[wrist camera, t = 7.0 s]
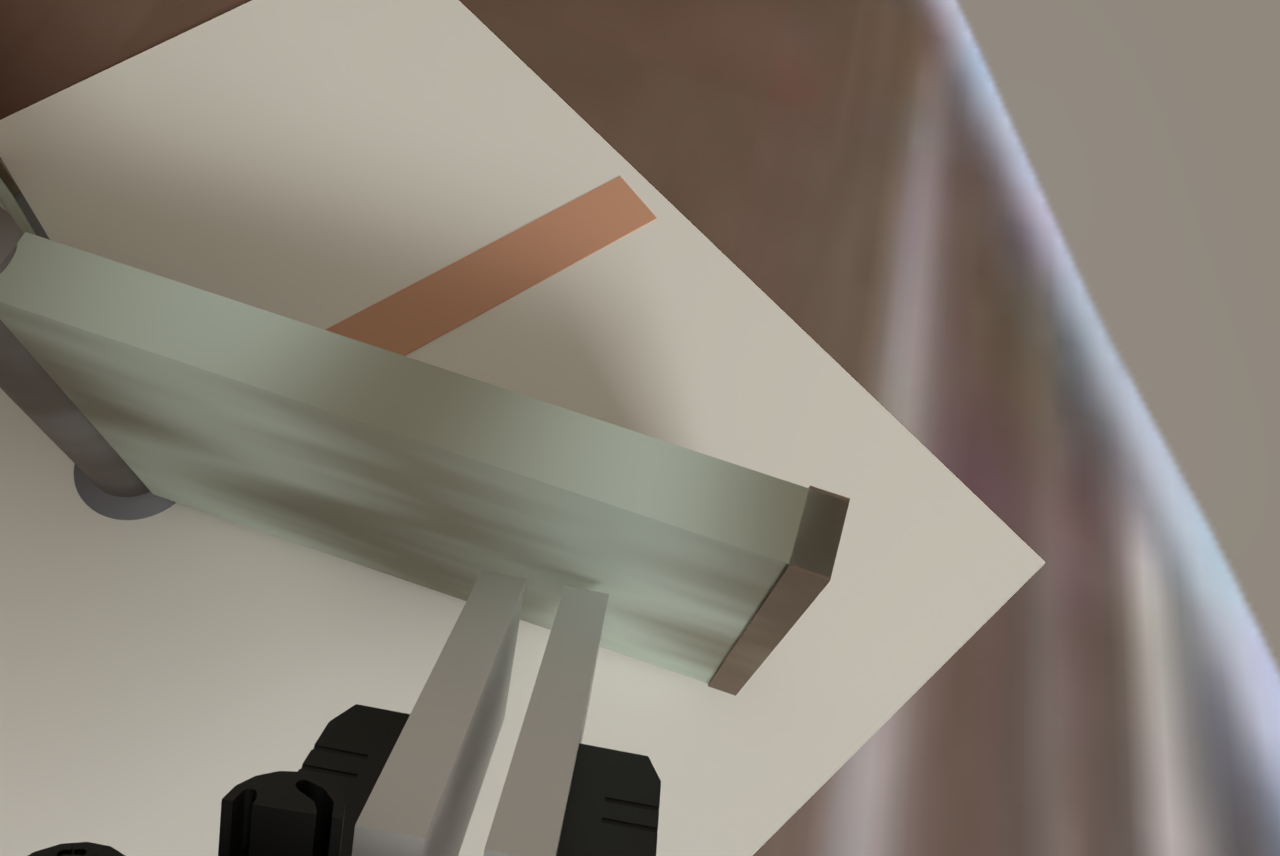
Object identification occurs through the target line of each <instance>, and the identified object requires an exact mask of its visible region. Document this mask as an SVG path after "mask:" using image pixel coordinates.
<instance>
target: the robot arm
mask: <svg viewBox="0 0 1280 856" xmlns="http://www.w3.org/2000/svg"><path fill="white" fill-rule="evenodd" d="M525 583H526V579H525V578H520V577H514V576H509V575H504V574H498V573H493V572H488V571H481V573H480V575H479V577H478V579H477V581H476V583H475V585H474V587H473V589H472V591H471V593H470V595H469V597H468V599H467V601H466V603H465V605H464V607H463V609H462V611H461V613H460V615H459V617H458V619H457V621H456V623H455V625H454V627H453V629H452V631H451V633H450V635H449V637H448V639H447V641H446V643H445V645H444V648H443V650H442V652H441V654H440V656H439V658H438V660H437V662H436V664H435V666H434V668H433V670H432V672H431V674H430V676H429V678H428V680H427V682H426V684H425V686H424V688H423V690H422V692H421V694H420V696H419V698H418V700H417V702H416V704H415V706H414V708H413V710H412V712H411V714H406V713H401V712H396V711H390V710H385V709H380V708H374V707H369V706H364V705H358V704H355V705H354V706H352V707H351V708H349V709H348V710H346V711H345V712H343V713H342V714H340V715H339V716H337V717H335V718H334V719H332V720H331V721H329V722H328V724H327V726H326V727H325V729H324V730H323V732H322V734H321V735H320V737H319V738H318V740H317V742H316V743H315V745H314V749H313V750H311V751H310V753H309V754H308V756H307V758H306V759H305V761H304V762H303V764H302V768H301V769H299V770H298V772H293V771H277V772H272V773H267V774H262V775H257V776H254V777H252V778H250V779H248V780H246V781H244V782H242V783H240V784H238V785H236V786H235V787H234V788H233V789H232V790H231V791H230V792H228V793H227V794H226V795H225V796H224V797H223V798H222V802H221V817H220V833H219V848H218V856H458V855H459V852H460V849H461V846H462V843H463V840H464V837H465V834H466V831H467V828H468V825H469V822H470V819H471V816H472V813H473V810H474V807H475V804H476V801H477V798H478V795H479V792H480V790H481V787H482V784H483V781H484V778H485V775H486V772H487V769H488V766H489V763H490V760H491V757H492V754H493V751H494V748H495V745H496V742H497V739H498V736H499V733H500V730H501V727H502V724H503V721H504V718H505V711H506V705H507V699H508V692H509V686H510V679H511V673H512V666H513V660H514V654H515V647H516V641H517V634H518V628H519V622H520V615H521V609H522V602H523V596H524V589H525ZM608 597H609V594H606V593H601V592H595V591H590V590H585V589H579V588H574V587H569V586H564V590H563V593H562V596H561V600H560V603H559V606H558V609H557V613H556V616H555V619H554V623H553V626H552V629H551V632H550V636H549V639H548V642H547V645H546V649H545V652H544V655H543V659H542V662H541V665H540V668H539V672H538V675H537V678H536V682H535V685H534V688H533V691H532V695H531V698H530V701H529V704H528V708H527V711H526V714H525V718H524V721H523V724H522V727H521V731H520V734H519V737H518V741H517V744H516V747H515V750H514V754H513V757H512V760H511V763H510V767H509V770H508V773H507V777H506V780H505V783H504V786H503V790H502V793H501V796H500V800H499V803H498V806H497V809H496V813H495V816H494V819H493V822H492V826H491V829H490V832H489V836H488V839H487V842H486V845H485V849H484V855H483V856H656V849H657V834H658V833H657V830H658V820H659V805H660V790H661V780H660V778H659V776H658V774H657V772H656V770H655V768H654V767H653V765H652V763H651V761H650V759H649V757H648V756H644V755H639V754H634V753H628V752H623V751H618V750H613V749H607V748H602V747H597V746H591V745H586V744H582V739H583V734H584V729H585V723H586V718H587V712H588V707H589V701H590V696H591V690H592V685H593V679H594V674H595V668H596V663H597V657H598V652H599V646H600V641H601V635H602V630H603V624H604V619H605V614H606V608H607V603H608ZM28 856H125V855H124V854H122V853H120V852H119V851H117V850H116V849H114V848H112V847H111V846H106V845H101V844H96V843H91V842H79V843H64V844H59V845H55V846H52V847H49V848H45V849H42V850H39V851H35V852H33V853H31V854H30V855H28Z"/></svg>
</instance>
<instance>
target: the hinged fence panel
mask: <svg viewBox="0 0 1280 856" xmlns="http://www.w3.org/2000/svg"><path fill="white" fill-rule="evenodd" d="M0 388H1V389H2V390H3V391H4V392H5V393H6V394H7V395H8V396H9V397H10V398H11V399H12V400H13V401H14V402H15V403H16V404H17V405H18V406H19V407H20V408H21V409H22V410H23V412H24V413H25V414H26V415H27V416H28V417H29V418H30V419H31V420H32V421H33V422H34V423H35V424H36V425H37V426H38V427H39V428H40V429H41V430H42V431H43V432H44V433H45V434H46V435H47V436H48V437H49V438H50V439H51V440H52V441H53V442H54V443H55V444H56V445H57V446H58V447H59V448H60V449H61V450H62V451H63V452H64V453H65V454H66V455H67V456H68V457H69V458H70V459H71V460H72V461H73V462H74V463H75V464H76V465H77V466H78V467H79V468H80V469H81V470H82V471H83V472H84V473H85V474H86V475H87V476H88V478H89V479H90V480H91V481H92V482H93V483H94V484H95V485H96V486H97V487H98V488H100V489H101V490H102V491H104V492H106V493H108V494H110V495H113V496H117V497H135V496H139V495H142V494H146V493H148V492H150V491H151V492H152V493H153V494H154V495H156V496H159V497H162V498H165V499H168V500H171V501H174V502H177V503H180V504H183V505H186V506H189V507H192V508H195V509H197V510H200V511H203V512H206V513H209V514H212V515H215V516H218V517H221V518H224V519H227V520H230V521H233V522H236V523H239V524H241V525H244V526H247V527H250V528H253V529H256V530H259V531H262V532H265V533H268V534H271V535H274V536H277V537H280V538H282V539H285V540H288V541H291V542H294V543H297V544H300V545H303V546H306V547H309V548H312V549H315V550H318V551H321V552H324V553H326V554H329V555H332V556H335V557H338V558H341V559H344V560H347V561H350V562H353V563H356V564H359V565H362V566H365V567H367V568H370V569H373V570H376V571H379V572H382V573H385V574H388V575H391V576H394V577H397V578H400V579H403V580H406V581H409V582H411V583H414V584H417V585H420V586H423V587H426V588H429V589H432V590H435V591H438V592H441V593H444V594H447V595H450V596H452V597H455V598H458V599H461V600H464V601H467V599H468V597H469V595H470V593H471V591H472V589H473V587H474V585H475V583H476V581H477V579H478V577H479V575H480V573H481V571H488V572H493V573H498V574H504V575H509V576H514V577H520V578H525V579H526V583H525V589H524V596H523V602H522V609H521V615H520V620H523V621H526V622H529V623H532V624H535V625H537V626H540V627H543V628H546V629H549V630H551V629H552V626H553V623H554V619H555V616H556V613H557V609H558V606H559V603H560V600H561V596H562V593H563V590H564V586H569V587H574V588H579V589H585V590H590V591H595V592H601V593H606V594H609V597H608V603H607V608H606V614H605V619H604V624H603V630H602V635H601V641H600V646H599V647H602V648H605V649H608V650H611V651H614V652H617V653H620V654H622V655H625V656H628V657H631V658H634V659H637V660H640V661H643V662H646V663H649V664H652V665H655V666H658V667H661V668H663V669H666V670H669V671H672V672H675V673H678V674H681V675H684V676H687V677H690V678H693V679H696V680H699V681H702V682H705V683H707V684H708V686H709V687H712V688H715V689H718V690H720V691H723V692H726V693H729V694H732V695H735V696H736V695H737V694H738V692H739V691H740V690H741V689H742V688H743V686H744V685H745V684H746V683H747V681H748V680H749V679H750V678H751V677H752V675H753V674H754V673H755V672H756V671H757V669H758V668H759V667H760V666H761V664H762V663H763V662H764V661H765V660H766V658H767V657H768V656H769V655H770V653H771V652H772V651H773V650H774V649H775V647H776V646H777V645H778V644H779V643H780V641H781V640H782V639H783V638H784V636H785V635H786V634H787V633H788V632H789V630H790V629H791V628H792V627H793V626H794V624H795V623H796V622H797V621H798V619H799V618H800V617H801V616H802V615H803V613H804V612H805V611H806V610H807V609H808V607H809V606H810V605H811V604H812V602H813V601H814V600H815V599H816V598H817V596H818V595H819V594H820V593H821V592H822V590H823V589H824V588H825V587H826V585H827V584H828V583H829V582H830V579H831V575H832V571H833V567H834V563H835V559H836V555H837V551H838V547H839V542H840V538H841V534H842V530H843V526H844V522H845V518H846V514H847V510H848V505H849V501H850V498H847V497H844V496H841V495H838V494H835V493H832V492H828V491H825V490H822V489H819V488H816V487H813V486H809V488H806V487H803V486H800V485H797V484H794V483H791V482H788V481H785V480H782V479H779V478H776V477H773V476H770V475H766V474H763V473H760V472H757V471H754V470H751V469H748V468H745V467H742V466H739V465H736V464H733V463H730V462H727V461H724V460H721V459H718V458H715V457H711V456H708V455H705V454H702V453H699V452H696V451H693V450H690V449H687V448H684V447H681V446H678V445H675V444H672V443H669V442H666V441H663V440H660V439H656V438H653V437H650V436H647V435H644V434H641V433H638V432H635V431H632V430H629V429H626V428H623V427H620V426H617V425H614V424H611V423H608V422H605V421H602V420H598V419H595V418H592V417H589V416H586V415H583V414H580V413H577V412H574V411H571V410H568V409H565V408H562V407H559V406H556V405H553V404H550V403H547V402H543V401H540V400H537V399H534V398H531V397H528V396H525V395H522V394H519V393H516V392H513V391H510V390H507V389H504V388H501V387H498V386H495V385H492V384H488V383H485V382H482V381H479V380H476V379H473V378H470V377H467V376H464V375H461V374H458V373H455V372H452V371H449V370H446V369H443V368H440V367H437V366H433V365H430V364H427V363H424V362H421V361H418V360H415V359H412V358H409V357H406V356H403V355H400V354H397V353H394V352H391V351H388V350H385V349H382V348H378V347H375V346H372V345H369V344H366V343H363V342H360V341H357V340H354V339H351V338H348V337H345V336H342V335H339V334H336V333H333V332H330V331H327V330H324V329H320V328H317V327H314V326H311V325H308V324H305V323H302V322H299V321H296V320H293V319H290V318H287V317H284V316H281V315H278V314H275V313H272V312H269V311H265V310H262V309H259V308H256V307H253V306H250V305H247V304H244V303H241V302H238V301H235V300H232V299H229V298H226V297H223V296H220V295H217V294H214V293H210V292H207V291H204V290H201V289H198V288H195V287H192V286H189V285H186V284H183V283H180V282H177V281H174V280H171V279H168V278H165V277H162V276H159V275H155V274H152V273H149V272H146V271H143V270H140V269H137V268H134V267H131V266H128V265H125V264H122V263H119V262H116V261H113V260H110V259H107V258H104V257H100V256H97V255H94V254H91V253H88V252H85V251H82V250H79V249H76V248H73V247H70V246H67V245H64V244H61V243H58V242H55V241H52V240H49V239H46V238H42V237H39V236H36V235H33V234H30V233H27V232H25V233H23V232H22V230H21V229H20V228H19V226H18V225H17V223H16V222H15V221H14V219H13V218H12V217H11V215H10V214H9V213H8V212H7V211H6V210H4V209H3V208H2V207H0Z"/></svg>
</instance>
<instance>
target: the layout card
mask: <svg viewBox="0 0 1280 856" xmlns="http://www.w3.org/2000/svg"><path fill="white" fill-rule="evenodd" d="M0 157H1V159H2V161H3V162H4V164H5V166H6V167H7V169H8V171H9V172H10V174H11V176H12V177H13V179H14V181H15V182H16V184H17V186H18V187H19V189H20V191H21V192H20V193H17V194H15V195H13V196H14V198H15V200H16V201H17V203H18V205H19V206H20V208H21V210H22V211H23V213H24V215H25V216H26V218H27V220H28V222H29V223H30V225H31V227H32V228H33V230H34V232H35V233H36V235H37V236H39V237H42V238H46V239H49V240H52V241H55V242H58V243H61V244H64V245H67V246H70V247H73V248H76V249H79V250H82V251H85V252H88V253H91V254H94V255H97V256H100V257H104V258H107V259H110V260H113V261H116V262H119V263H122V264H125V265H128V266H131V267H134V268H137V269H140V270H143V271H146V272H149V273H152V274H155V275H159V276H162V277H165V278H168V279H171V280H174V281H177V282H180V283H183V284H186V285H189V286H192V287H195V288H198V289H201V290H204V291H207V292H210V293H214V294H217V295H220V296H223V297H226V298H229V299H232V300H235V301H238V302H241V303H244V304H247V305H250V306H253V307H256V308H259V309H262V310H265V311H269V312H272V313H275V314H278V315H281V316H284V317H287V318H290V319H293V320H296V321H299V322H302V323H305V324H308V325H311V326H314V327H317V328H320V329H324V330H327V331H330V332H333V333H336V334H339V335H342V336H345V337H348V338H351V339H354V340H357V341H360V342H363V343H366V344H369V345H372V346H375V347H378V348H382V349H385V350H388V351H391V352H394V353H397V354H400V355H403V356H406V357H409V358H412V359H415V360H418V361H421V362H424V363H427V364H430V365H433V366H437V367H440V368H443V369H446V370H449V371H452V372H455V373H458V374H461V375H464V376H467V377H470V378H473V379H476V380H479V381H482V382H485V383H488V384H492V385H495V386H498V387H501V388H504V389H507V390H510V391H513V392H516V393H519V394H522V395H525V396H528V397H531V398H534V399H537V400H540V401H543V402H547V403H550V404H553V405H556V406H559V407H562V408H565V409H568V410H571V411H574V412H577V413H580V414H583V415H586V416H589V417H592V418H595V419H598V420H602V421H605V422H608V423H611V424H614V425H617V426H620V427H623V428H626V429H629V430H632V431H635V432H638V433H641V434H644V435H647V436H650V437H653V438H656V439H660V440H663V441H666V442H669V443H672V444H675V445H678V446H681V447H684V448H687V449H690V450H693V451H696V452H699V453H702V454H705V455H708V456H711V457H715V458H718V459H721V460H724V461H727V462H730V463H733V464H736V465H739V466H742V467H745V468H748V469H751V470H754V471H757V472H760V473H763V474H766V475H770V476H773V477H776V478H779V479H782V480H785V481H788V482H791V483H794V484H797V485H800V486H803V487H806V488H809V486H813V487H816V488H819V489H822V490H825V491H828V492H832V493H835V494H838V495H841V496H844V497H847V498H850V501H849V505H848V510H847V514H846V518H845V522H844V526H843V530H842V534H841V538H840V542H839V547H838V551H837V555H836V559H835V563H834V567H833V571H832V575H831V579H830V582H829V583H828V584H827V585H826V587H825V588H824V589H823V590H822V592H821V593H820V594H819V595H818V596H817V598H816V599H815V600H814V601H813V602H812V604H811V605H810V606H809V607H808V609H807V610H806V611H805V612H804V613H803V615H802V616H801V617H800V618H799V619H798V621H797V622H796V623H795V624H794V626H793V627H792V628H791V629H790V630H789V632H788V633H787V634H786V635H785V636H784V638H783V639H782V640H781V641H780V643H779V644H778V645H777V646H776V647H775V649H774V650H773V651H772V652H771V653H770V655H769V656H768V657H767V658H766V660H765V661H764V662H763V663H762V664H761V666H760V667H759V668H758V669H757V671H756V672H755V673H754V674H753V675H752V677H751V678H750V679H749V680H748V681H747V683H746V684H745V685H744V686H743V688H742V689H741V690H740V691H739V692H738V694H737V695H736V696H735V695H732V694H729V693H726V692H723V691H720V690H718V689H715V688H712V687H709V686H708V684H707V683H705V682H702V681H699V680H696V679H693V678H690V677H687V676H684V675H681V674H678V673H675V672H672V671H669V670H666V669H663V668H661V667H658V666H655V665H652V664H649V663H646V662H643V661H640V660H637V659H634V658H631V657H628V656H625V655H622V654H620V653H617V652H614V651H611V650H608V649H605V648H602V647H599V652H598V657H597V663H596V668H595V674H594V679H593V685H592V690H591V696H590V701H589V707H588V712H587V718H586V723H585V729H584V734H583V739H582V744H586V745H591V746H597V747H602V748H607V749H613V750H618V751H623V752H628V753H634V754H639V755H644V756H648V757H649V759H650V761H651V763H652V765H653V767H654V768H655V770H656V772H657V774H658V776H659V778H660V780H661V790H660V805H659V820H658V830H657V833H658V834H657V849H656V856H752V855H753V854H754V853H755V852H756V851H757V850H758V849H759V848H760V847H761V846H762V845H763V844H764V843H765V842H766V841H767V840H768V839H769V838H770V837H771V836H772V835H773V834H774V833H775V832H776V831H777V830H778V829H779V828H780V827H781V826H782V825H783V824H784V823H785V822H786V821H787V820H788V819H789V818H790V817H791V816H792V815H793V814H794V813H795V812H796V811H797V810H798V809H799V808H800V807H801V806H802V805H803V804H804V803H805V802H806V801H807V800H808V799H809V798H810V797H811V796H812V795H813V794H814V793H815V792H816V791H817V790H818V789H819V788H820V787H822V786H823V785H824V784H825V783H826V782H827V781H828V780H829V779H830V778H831V777H832V776H833V775H834V774H835V773H836V772H837V771H838V770H839V769H840V768H841V767H842V766H843V765H844V764H845V763H846V762H847V761H848V760H849V759H850V758H851V757H852V756H853V755H854V754H855V753H856V752H857V751H858V750H859V749H860V748H861V747H862V746H863V745H864V744H865V743H866V742H867V741H868V740H869V739H870V738H871V737H872V736H873V735H874V734H875V733H876V732H877V731H878V730H879V729H880V728H881V727H882V726H883V725H884V724H885V723H886V722H887V721H888V720H889V719H890V718H891V717H892V716H893V715H894V714H895V713H896V712H897V711H898V710H899V709H900V708H901V707H902V706H903V705H904V704H905V703H906V702H907V701H908V700H909V699H910V698H911V697H912V696H913V695H914V694H915V693H916V692H917V691H918V690H919V689H920V688H921V687H922V686H923V685H924V684H925V683H926V682H927V681H928V680H929V679H930V678H931V677H932V676H933V675H934V674H935V673H936V672H937V671H938V670H939V669H940V668H941V667H942V666H943V665H944V664H945V663H946V662H947V661H948V660H949V659H950V658H951V657H952V656H953V655H954V654H955V653H956V652H957V651H958V650H959V649H960V648H961V647H962V646H963V645H964V644H965V643H966V642H967V641H968V640H969V639H970V638H971V637H972V636H973V635H974V634H975V633H976V632H977V631H978V630H979V629H980V628H981V627H982V626H983V625H984V624H985V623H986V622H987V621H988V620H989V619H990V618H991V617H992V616H993V615H994V614H995V613H996V612H997V611H998V610H999V609H1000V608H1001V607H1002V606H1003V605H1004V604H1005V603H1006V602H1007V601H1008V600H1009V599H1010V598H1011V597H1012V596H1013V595H1014V594H1015V593H1016V592H1017V591H1018V590H1019V589H1020V588H1021V587H1022V586H1023V585H1024V584H1025V583H1026V582H1027V581H1028V580H1029V579H1030V578H1031V577H1032V576H1033V575H1034V574H1035V573H1036V572H1037V571H1038V570H1039V569H1040V568H1041V567H1042V566H1043V565H1044V564H1045V563H1046V562H1045V561H1044V560H1042V559H1041V558H1040V557H1039V556H1038V555H1037V554H1036V553H1035V552H1034V551H1033V550H1032V549H1031V548H1030V547H1029V546H1028V545H1027V544H1026V543H1025V542H1024V541H1023V540H1022V539H1021V538H1020V537H1018V536H1017V535H1016V534H1015V533H1014V532H1013V531H1012V530H1011V529H1010V528H1009V527H1008V526H1007V525H1006V524H1005V523H1004V522H1003V521H1002V520H1001V519H1000V518H999V517H998V516H997V515H996V514H994V513H993V512H992V511H991V510H990V509H989V508H988V507H987V506H986V505H985V504H984V503H983V502H982V501H981V500H980V499H979V498H978V497H977V496H976V495H975V494H974V493H973V492H972V491H970V490H969V489H968V488H967V487H966V486H965V485H964V484H963V483H962V482H961V481H960V480H959V479H958V478H957V477H956V476H955V475H954V474H953V473H952V472H951V471H950V470H949V469H947V468H946V467H945V466H944V465H943V464H942V463H941V462H940V461H939V460H938V459H937V458H936V457H935V456H934V455H933V454H932V453H931V452H930V451H929V450H928V449H927V448H926V447H925V446H923V445H922V444H921V443H920V442H919V441H918V440H917V439H916V438H915V437H914V436H913V435H912V434H911V433H910V432H909V431H908V430H907V429H906V428H905V427H904V426H903V425H902V424H901V423H899V422H898V421H897V420H896V419H895V418H894V417H893V416H892V415H891V414H890V413H889V412H888V411H887V410H886V409H885V408H884V407H883V406H882V405H881V404H880V403H879V402H878V401H876V400H875V399H874V398H873V397H872V396H871V395H870V394H869V393H868V392H867V391H866V390H865V389H864V388H863V387H862V386H861V385H860V384H859V383H858V382H857V381H856V380H855V379H854V378H852V377H851V376H850V375H849V374H848V373H847V372H846V371H845V370H844V369H843V368H842V367H841V366H840V365H839V364H838V363H837V362H836V361H835V360H834V359H833V358H832V357H831V356H830V355H828V354H827V353H826V352H825V351H824V350H823V349H822V348H821V347H820V346H819V345H818V344H817V343H816V342H815V341H814V340H813V339H812V338H811V337H810V336H809V335H808V334H807V333H806V332H804V331H803V330H802V329H801V328H800V327H799V326H798V325H797V324H796V323H795V322H794V321H793V320H792V319H791V318H790V317H789V316H788V315H787V314H786V313H785V312H784V311H783V310H781V309H780V308H779V307H778V306H777V305H776V304H775V303H774V302H773V301H772V300H771V299H770V298H769V297H768V296H767V295H766V294H765V293H764V292H763V291H762V290H761V289H760V288H759V287H757V286H756V285H755V284H754V283H753V282H752V281H751V280H750V279H749V278H748V277H747V276H746V275H745V274H744V273H743V272H742V271H741V270H740V269H739V268H738V267H737V266H736V265H735V264H733V263H732V262H731V261H730V260H729V259H728V258H727V257H726V256H725V255H724V254H723V253H722V252H721V251H720V250H719V249H718V248H717V247H716V246H715V245H714V244H713V243H712V242H711V241H709V240H708V239H707V238H706V237H705V236H704V235H703V234H702V233H701V232H700V231H699V230H698V229H697V228H696V227H695V226H694V225H693V224H692V223H691V222H690V221H689V220H688V219H686V218H685V217H684V216H683V215H682V214H681V213H680V212H679V211H678V210H677V209H676V208H675V207H674V206H673V205H672V204H671V203H670V202H669V201H668V200H667V199H666V198H665V197H664V196H662V195H661V194H660V193H659V192H658V191H657V190H656V189H655V188H654V187H653V186H652V185H651V184H650V183H649V182H648V181H647V180H646V179H645V178H644V177H643V176H642V175H641V174H640V173H638V172H637V171H636V170H635V169H634V168H633V167H632V166H631V165H630V164H629V163H628V162H627V161H626V160H625V159H624V158H623V157H622V156H621V155H620V154H619V153H618V152H617V151H615V150H614V149H613V148H612V147H611V146H610V145H609V144H608V143H607V142H606V141H605V140H604V139H603V138H602V137H601V136H600V135H599V134H598V133H597V132H596V131H595V130H594V129H593V128H591V127H590V126H589V125H588V124H587V123H586V122H585V121H584V120H583V119H582V118H581V117H580V116H579V115H578V114H577V113H576V112H575V111H574V110H573V109H572V108H571V107H570V106H569V105H567V104H566V103H565V102H564V101H563V100H562V99H561V98H560V97H559V96H558V95H557V94H556V93H555V92H554V91H553V90H552V89H551V88H550V87H549V86H548V85H547V84H546V83H545V82H543V81H542V80H541V79H540V78H539V77H538V76H537V75H536V74H535V73H534V72H533V71H532V70H531V69H530V68H529V67H528V66H527V65H526V64H525V63H524V62H523V61H522V60H520V59H519V58H518V57H517V56H516V55H515V54H514V53H513V52H512V51H511V50H510V49H509V48H508V47H507V46H506V45H505V44H504V43H503V42H502V41H501V40H500V39H499V38H498V37H496V36H495V35H494V34H493V33H492V32H491V31H490V30H489V29H488V28H487V27H486V26H485V25H484V24H483V23H482V22H481V21H480V20H479V19H478V18H477V17H476V16H475V15H474V14H472V13H471V12H470V11H469V10H468V9H467V8H466V7H465V6H464V5H463V4H462V3H461V2H460V1H459V0H252V1H250V2H248V3H245V4H243V5H241V6H239V7H237V8H235V9H233V10H231V11H229V12H226V13H224V14H222V15H220V16H218V17H216V18H214V19H212V20H210V21H208V22H205V23H203V24H201V25H199V26H197V27H195V28H193V29H191V30H189V31H186V32H184V33H182V34H180V35H178V36H176V37H174V38H172V39H170V40H168V41H165V42H163V43H161V44H159V45H157V46H155V47H153V48H151V49H149V50H147V51H144V52H142V53H140V54H138V55H136V56H134V57H132V58H130V59H128V60H125V61H123V62H121V63H119V64H117V65H115V66H113V67H111V68H109V69H107V70H104V71H102V72H100V73H98V74H96V75H94V76H92V77H90V78H88V79H85V80H83V81H81V82H79V83H77V84H75V85H73V86H71V87H69V88H67V89H64V90H62V91H60V92H58V93H56V94H54V95H52V96H50V97H48V98H46V99H43V100H41V101H39V102H37V103H35V104H33V105H31V106H29V107H27V108H24V109H22V110H20V111H18V112H16V113H14V114H12V115H10V116H8V117H6V118H3V119H1V120H0ZM465 603H466V601H464V600H461V599H458V598H455V597H452V596H450V595H447V594H444V593H441V592H438V591H435V590H432V589H429V588H426V587H423V586H420V585H417V584H414V583H411V582H409V581H406V580H403V579H400V578H397V577H394V576H391V575H388V574H385V573H382V572H379V571H376V570H373V569H370V568H367V567H365V566H362V565H359V564H356V563H353V562H350V561H347V560H344V559H341V558H338V557H335V556H332V555H329V554H326V553H324V552H321V551H318V550H315V549H312V548H309V547H306V546H303V545H300V544H297V543H294V542H291V541H288V540H285V539H282V538H280V537H277V536H274V535H271V534H268V533H265V532H262V531H259V530H256V529H253V528H250V527H247V526H244V525H241V524H239V523H236V522H233V521H230V520H227V519H224V518H221V517H218V516H215V515H212V514H209V513H206V512H203V511H200V510H197V509H195V508H192V507H189V506H186V505H183V504H180V503H177V502H174V501H171V500H168V499H165V498H162V497H159V496H156V495H154V494H153V493H152V492H151V491H150V492H148V493H146V494H142V495H139V496H135V497H117V496H113V495H110V494H108V493H106V492H104V491H102V490H101V489H100V488H98V487H97V486H96V485H95V484H94V483H93V482H92V481H91V480H90V479H89V478H88V476H87V475H86V474H85V473H84V472H83V471H82V470H81V469H80V468H79V467H78V466H77V465H76V464H75V463H74V462H73V461H72V460H71V459H70V458H69V457H68V456H67V455H66V454H65V453H64V452H63V451H62V450H61V449H60V448H59V447H58V446H57V445H56V444H55V443H54V442H53V441H52V440H51V439H50V438H49V437H48V436H47V435H46V434H45V433H44V432H43V431H42V430H41V429H40V428H39V427H38V426H37V425H36V424H35V423H34V422H33V421H32V420H31V419H30V418H29V417H28V416H27V415H26V414H25V413H24V412H23V410H22V409H21V408H20V407H19V406H18V405H17V404H16V403H15V402H14V401H13V400H12V399H11V398H10V397H9V396H8V395H7V394H6V393H5V392H4V391H3V390H2V389H1V388H0V856H28V855H30V854H31V853H33V852H35V851H39V850H42V849H45V848H49V847H52V846H55V845H59V844H64V843H79V842H91V843H96V844H101V845H106V846H111V847H112V848H114V849H116V850H117V851H119V852H120V853H122V854H124V855H125V856H218V848H219V833H220V817H221V802H222V798H223V797H224V796H225V795H226V794H227V793H228V792H230V791H231V790H232V789H233V788H234V787H235V786H236V785H238V784H240V783H242V782H244V781H246V780H248V779H250V778H252V777H254V776H257V775H262V774H267V773H272V772H277V771H293V772H298V770H299V769H301V768H302V764H303V762H304V761H305V759H306V758H307V756H308V754H309V753H310V751H311V750H313V749H314V745H315V743H316V742H317V740H318V738H319V737H320V735H321V734H322V732H323V730H324V729H325V727H326V726H327V724H328V722H329V721H331V720H332V719H334V718H335V717H337V716H339V715H340V714H342V713H343V712H345V711H346V710H348V709H349V708H351V707H352V706H354V705H355V704H358V705H364V706H369V707H374V708H380V709H385V710H390V711H396V712H401V713H406V714H411V712H412V710H413V708H414V706H415V704H416V702H417V700H418V698H419V696H420V694H421V692H422V690H423V688H424V686H425V684H426V682H427V680H428V678H429V676H430V674H431V672H432V670H433V668H434V666H435V664H436V662H437V660H438V658H439V656H440V654H441V652H442V650H443V648H444V645H445V643H446V641H447V639H448V637H449V635H450V633H451V631H452V629H453V627H454V625H455V623H456V621H457V619H458V617H459V615H460V613H461V611H462V609H463V607H464V605H465ZM550 632H551V630H549V629H546V628H543V627H540V626H537V625H535V624H532V623H529V622H526V621H523V620H520V622H519V628H518V634H517V641H516V647H515V654H514V660H513V666H512V673H511V679H510V686H509V692H508V699H507V705H506V711H505V718H504V721H503V724H502V727H501V730H500V733H499V736H498V739H497V742H496V745H495V748H494V751H493V754H492V757H491V760H490V763H489V766H488V769H487V772H486V775H485V778H484V781H483V784H482V787H481V790H480V792H479V795H478V798H477V801H476V804H475V807H474V810H473V813H472V816H471V819H470V822H469V825H468V828H467V831H466V834H465V837H464V840H463V843H462V846H461V849H460V852H459V855H458V856H483V855H484V849H485V845H486V842H487V839H488V836H489V832H490V829H491V826H492V822H493V819H494V816H495V813H496V809H497V806H498V803H499V800H500V796H501V793H502V790H503V786H504V783H505V780H506V777H507V773H508V770H509V767H510V763H511V760H512V757H513V754H514V750H515V747H516V744H517V741H518V737H519V734H520V731H521V727H522V724H523V721H524V718H525V714H526V711H527V708H528V704H529V701H530V698H531V695H532V691H533V688H534V685H535V682H536V678H537V675H538V672H539V668H540V665H541V662H542V659H543V655H544V652H545V649H546V645H547V642H548V639H549V636H550Z"/></svg>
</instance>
